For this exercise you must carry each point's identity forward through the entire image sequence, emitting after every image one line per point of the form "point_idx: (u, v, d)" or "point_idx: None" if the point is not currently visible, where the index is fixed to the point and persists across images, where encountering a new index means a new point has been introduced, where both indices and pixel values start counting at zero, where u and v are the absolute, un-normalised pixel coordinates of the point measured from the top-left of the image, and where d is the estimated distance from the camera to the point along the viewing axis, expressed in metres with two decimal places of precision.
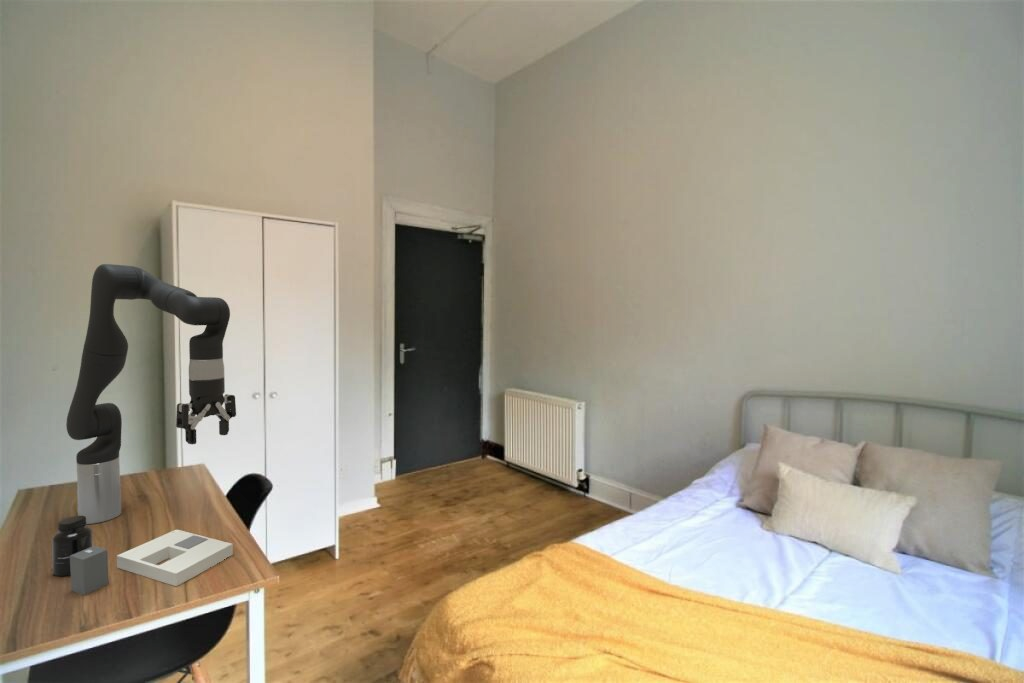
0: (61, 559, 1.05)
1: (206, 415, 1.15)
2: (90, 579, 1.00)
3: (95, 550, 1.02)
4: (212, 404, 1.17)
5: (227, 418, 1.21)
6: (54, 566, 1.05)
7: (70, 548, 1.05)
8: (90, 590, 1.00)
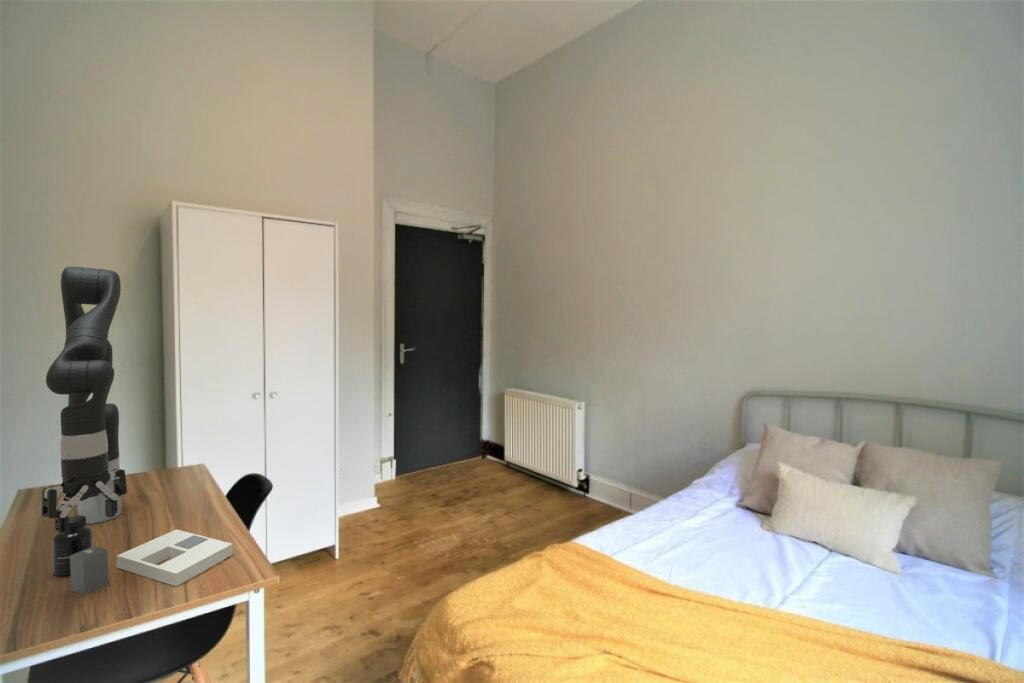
0: (61, 559, 1.05)
1: (83, 498, 0.99)
2: (90, 579, 1.00)
3: (95, 550, 1.02)
4: (92, 484, 1.00)
5: (114, 497, 1.04)
6: (54, 566, 1.05)
7: (70, 548, 1.05)
8: (90, 590, 1.00)
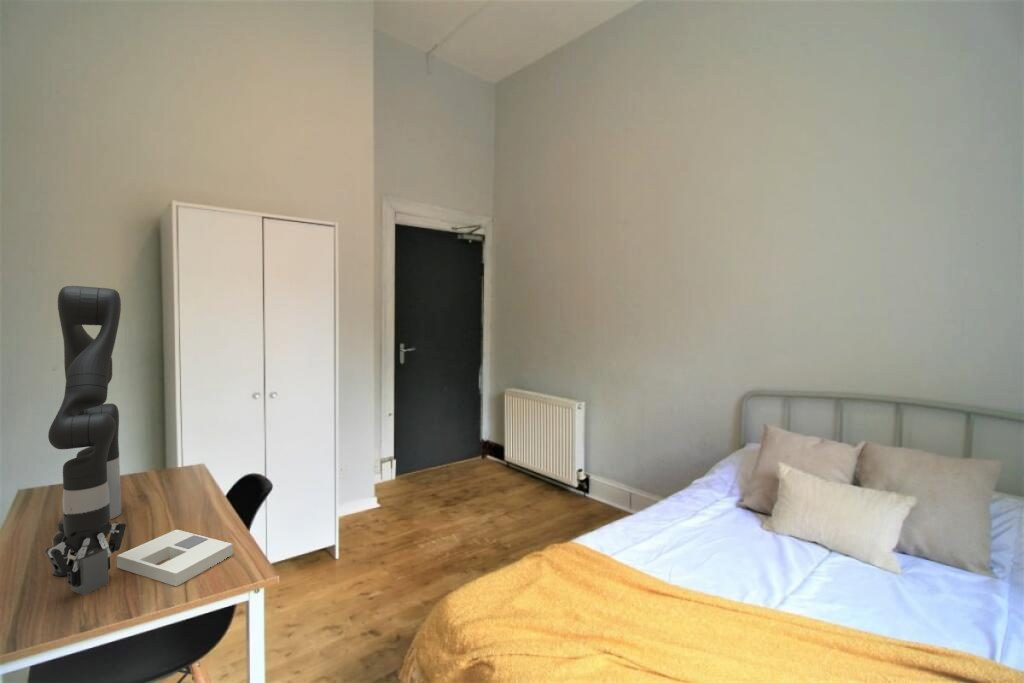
0: None
1: None
2: (90, 579, 1.00)
3: (95, 550, 1.02)
4: (94, 535, 1.01)
5: None
6: None
7: None
8: (90, 590, 1.00)
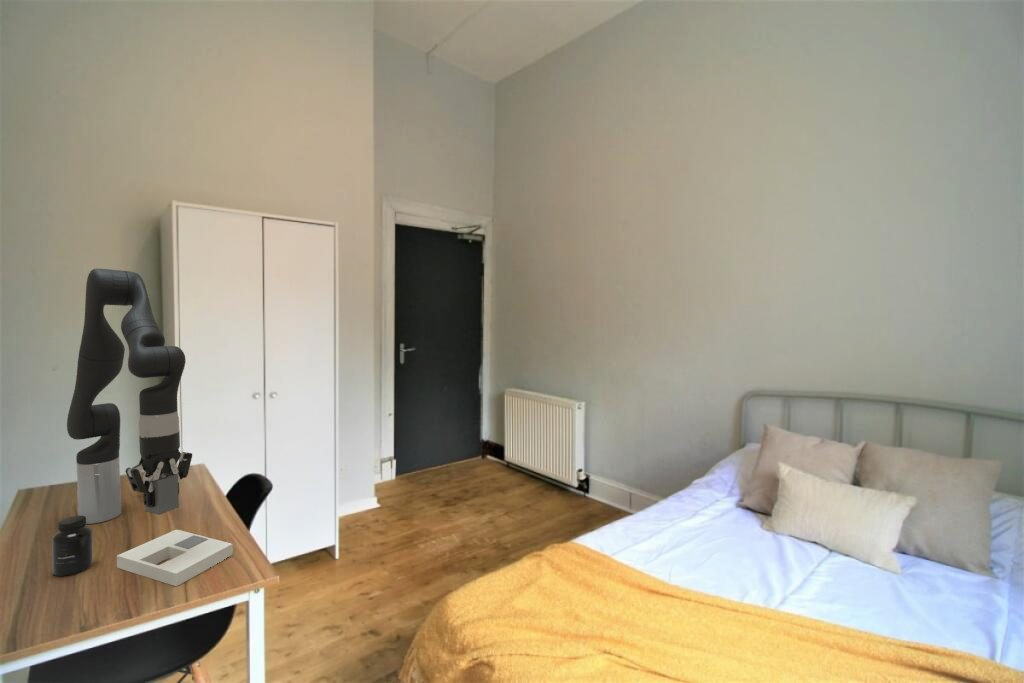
0: (61, 559, 1.05)
1: None
2: (164, 500, 1.07)
3: (166, 475, 1.09)
4: (166, 460, 1.08)
5: None
6: (54, 566, 1.05)
7: (70, 548, 1.05)
8: (164, 511, 1.07)
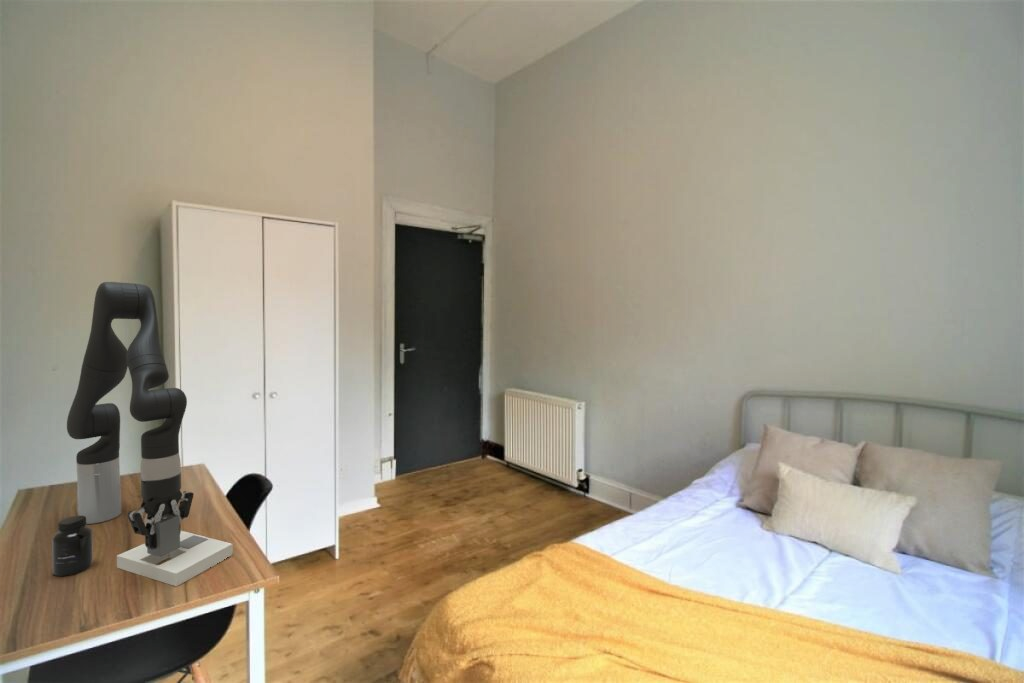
0: (61, 559, 1.05)
1: None
2: (165, 542, 1.08)
3: (168, 516, 1.10)
4: (167, 501, 1.09)
5: None
6: (54, 566, 1.05)
7: (70, 548, 1.05)
8: (165, 552, 1.08)
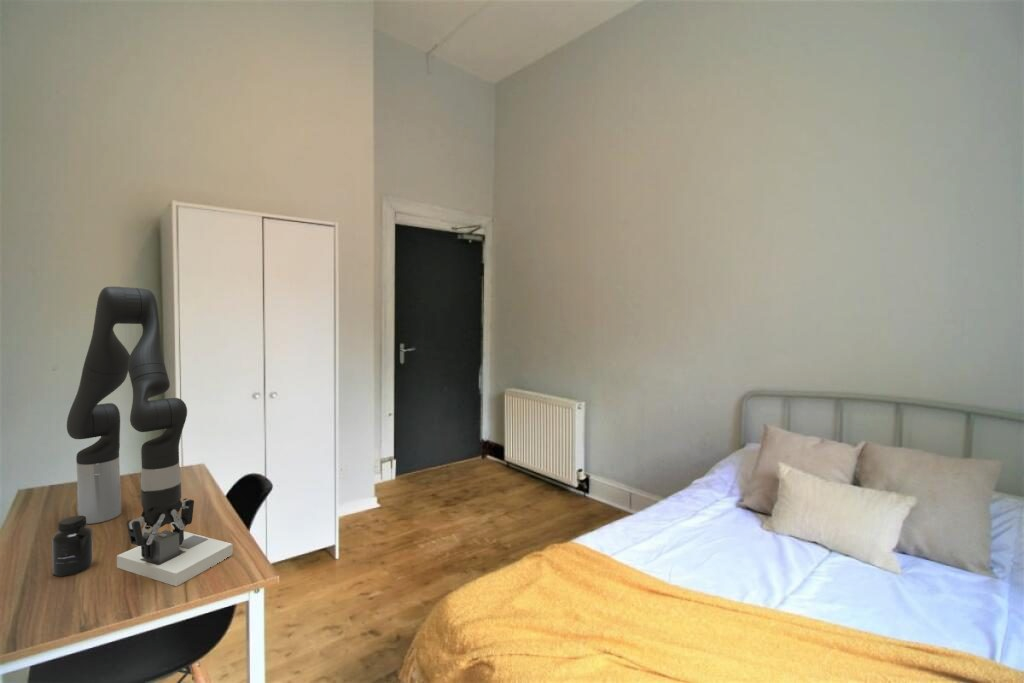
0: (61, 559, 1.05)
1: (160, 525, 1.08)
2: (165, 560, 1.08)
3: (168, 534, 1.10)
4: (167, 512, 1.09)
5: (181, 527, 1.12)
6: (54, 566, 1.05)
7: (70, 548, 1.05)
8: None
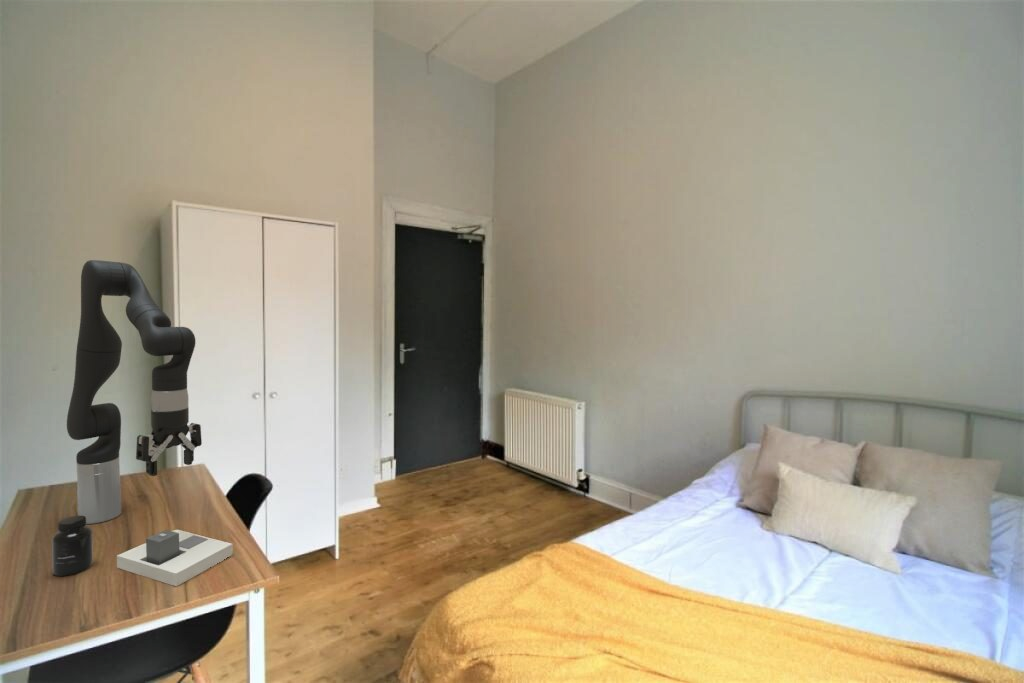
0: (61, 559, 1.05)
1: (168, 446, 1.14)
2: (165, 560, 1.08)
3: (167, 534, 1.10)
4: (175, 435, 1.15)
5: (191, 448, 1.19)
6: (54, 566, 1.05)
7: (70, 548, 1.05)
8: None
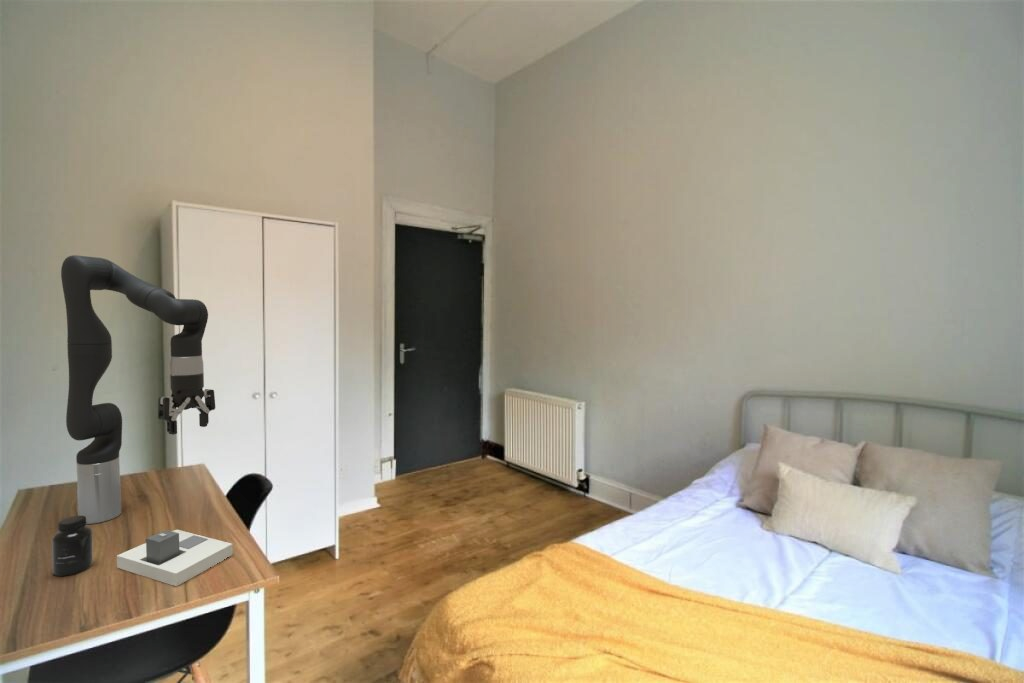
0: (61, 559, 1.05)
1: (186, 408, 1.25)
2: (165, 560, 1.08)
3: (167, 534, 1.10)
4: (192, 398, 1.27)
5: (206, 411, 1.31)
6: (54, 566, 1.05)
7: (70, 548, 1.05)
8: None
